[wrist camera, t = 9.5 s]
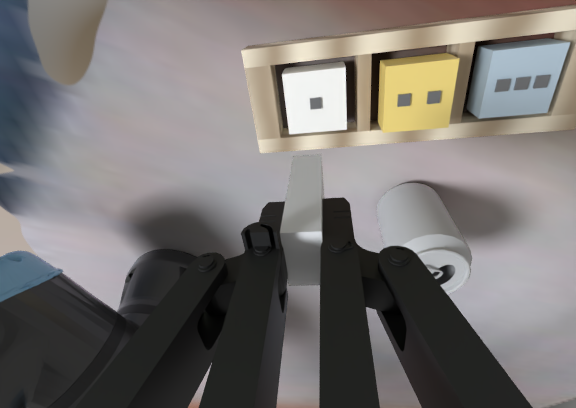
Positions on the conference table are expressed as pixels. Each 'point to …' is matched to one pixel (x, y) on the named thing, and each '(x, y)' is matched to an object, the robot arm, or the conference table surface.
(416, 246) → the can
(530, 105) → the tile
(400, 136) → the frame
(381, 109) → the tile
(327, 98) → the tile
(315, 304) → the conference table surface
